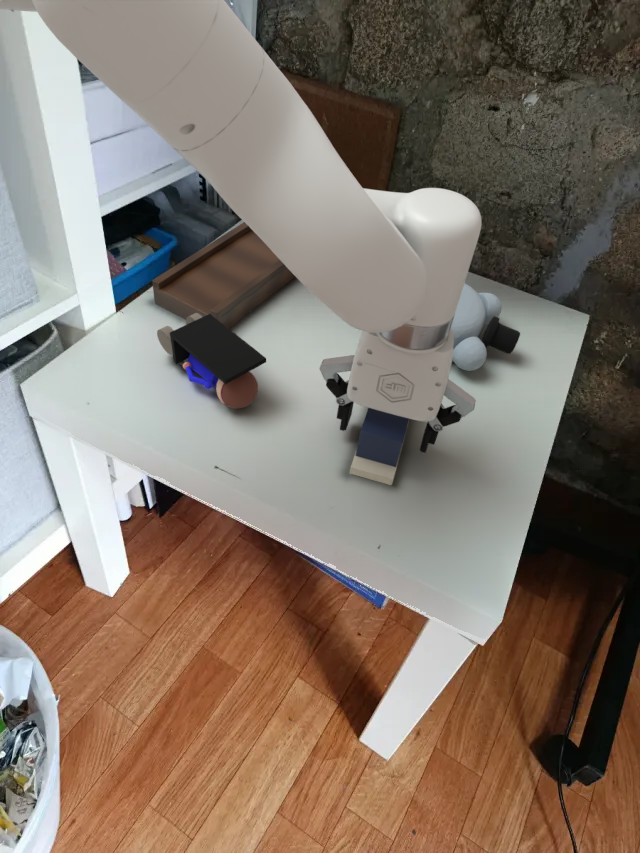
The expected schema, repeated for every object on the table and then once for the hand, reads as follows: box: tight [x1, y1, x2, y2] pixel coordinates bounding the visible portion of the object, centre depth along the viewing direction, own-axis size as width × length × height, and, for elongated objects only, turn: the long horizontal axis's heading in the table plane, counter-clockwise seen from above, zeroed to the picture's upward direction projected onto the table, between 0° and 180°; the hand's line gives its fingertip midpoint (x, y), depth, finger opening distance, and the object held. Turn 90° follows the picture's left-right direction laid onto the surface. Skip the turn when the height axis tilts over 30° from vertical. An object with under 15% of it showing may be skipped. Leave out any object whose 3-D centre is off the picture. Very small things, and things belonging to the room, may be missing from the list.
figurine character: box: [156, 313, 267, 410], centre depth 79 cm, size 7×8×15 cm
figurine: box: [451, 282, 521, 372], centre depth 89 cm, size 17×8×20 cm
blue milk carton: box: [349, 407, 410, 486], centre depth 75 cm, size 12×5×6 cm, turn 164°
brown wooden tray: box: [151, 221, 296, 329], centre depth 96 cm, size 28×11×4 cm, turn 147°
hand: (384, 433), depth 76 cm, fingers open, 9 cm apart
